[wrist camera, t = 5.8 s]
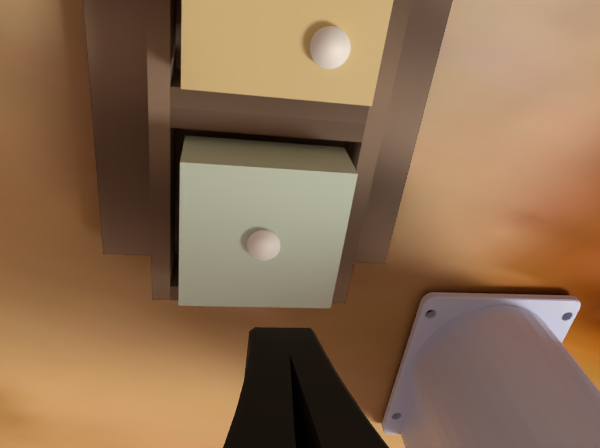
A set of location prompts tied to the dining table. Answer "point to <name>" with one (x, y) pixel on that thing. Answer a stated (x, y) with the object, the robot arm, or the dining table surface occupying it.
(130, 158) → the brown tile tray
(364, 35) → the two pip tile
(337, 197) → the one pip tile
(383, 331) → the dining table surface
